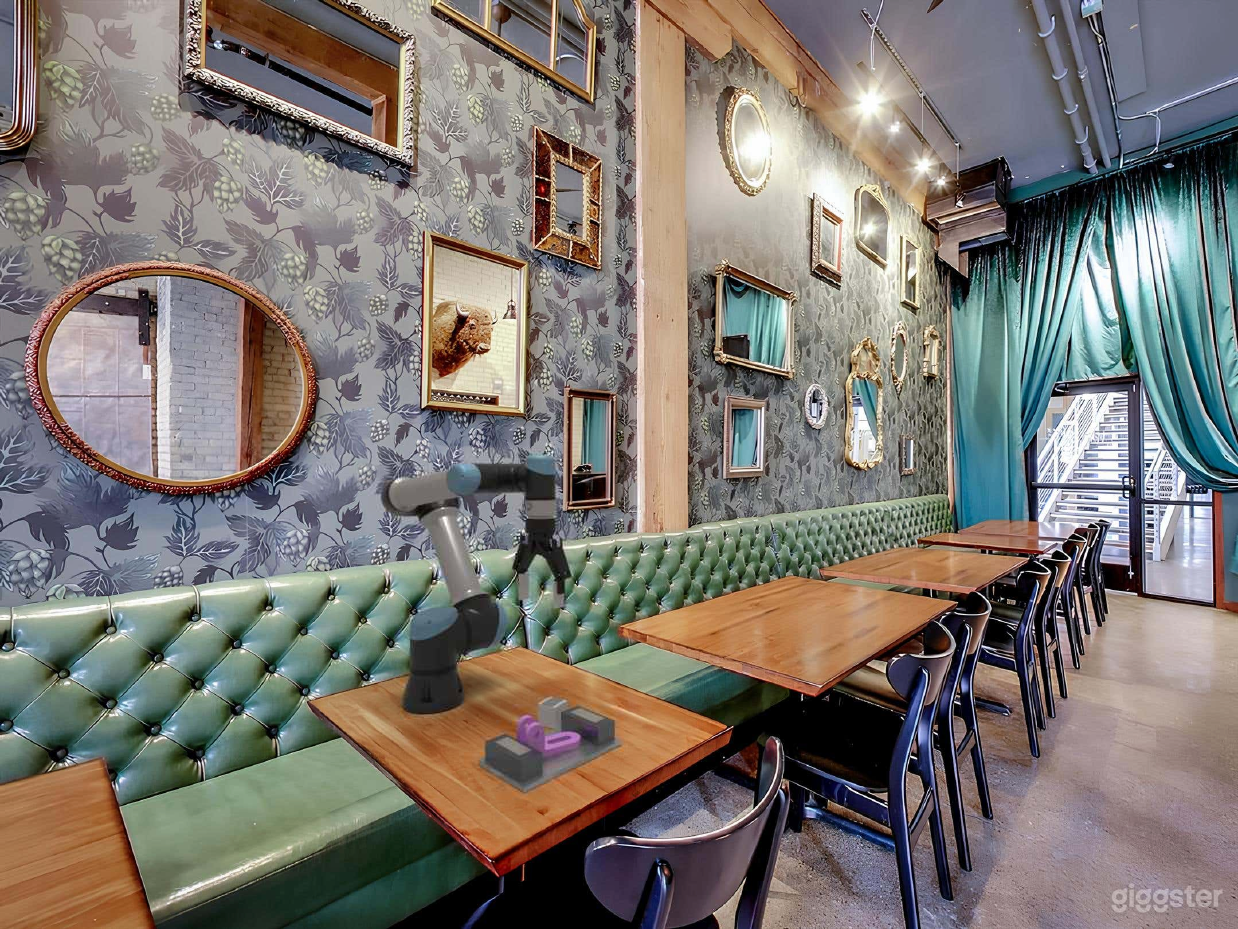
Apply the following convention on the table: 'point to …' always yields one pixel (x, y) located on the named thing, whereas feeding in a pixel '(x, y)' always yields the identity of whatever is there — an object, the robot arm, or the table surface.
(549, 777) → the rail board
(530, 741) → the bracket
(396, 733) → the table surface
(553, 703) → the block
